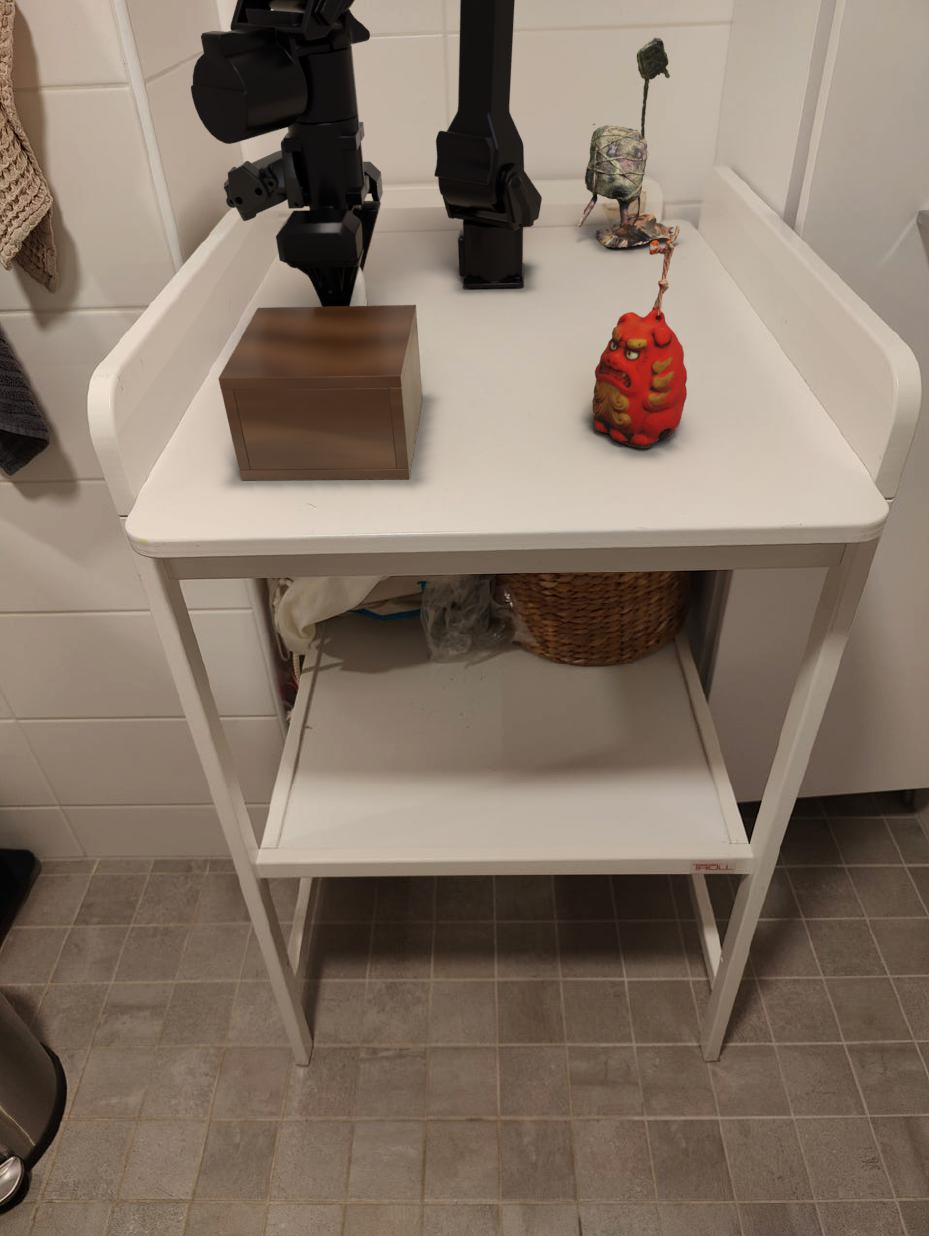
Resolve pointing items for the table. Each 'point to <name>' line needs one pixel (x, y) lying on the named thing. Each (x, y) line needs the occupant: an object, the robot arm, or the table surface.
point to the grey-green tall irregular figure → (626, 165)
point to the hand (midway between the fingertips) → (345, 308)
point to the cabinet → (325, 393)
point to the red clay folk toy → (642, 374)
